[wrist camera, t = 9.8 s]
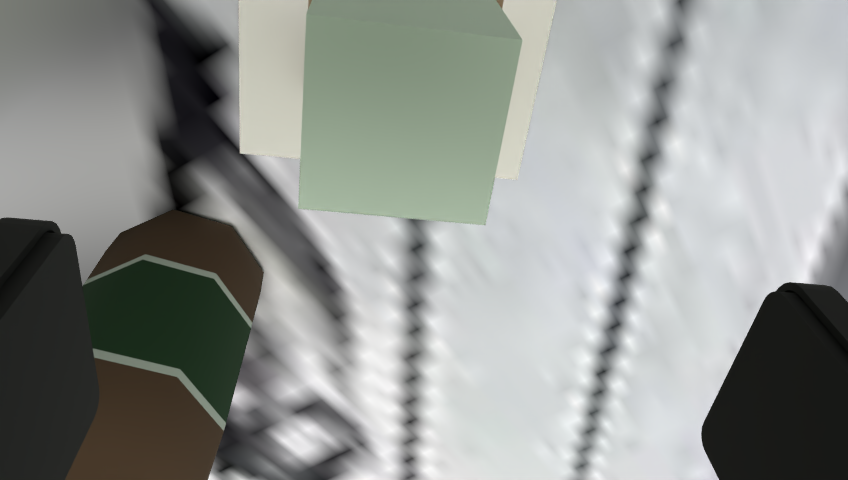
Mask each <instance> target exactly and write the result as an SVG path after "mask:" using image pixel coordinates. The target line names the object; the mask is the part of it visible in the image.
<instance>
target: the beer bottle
mask: <svg viewBox="0 0 848 480" xmlns="http://www.w3.org/2000/svg"><path fill="white" fill-rule="evenodd" d="M263 273H264V272H263V271H262V269H261V268H260V266H259V265H258V263H257V262H256V261H255V259H254V258H253V256H252V255H251V253H250V252H249V250H248V249H247V248H246V246H245V245H244V243H243V242H242V240H241V239H240V237H239V236H238V235H237V233H236V232H235V230H234V229H233V227H232V226H229V225H226V224H222V223H219V222H215V221H212V220H208V219H205V218H202V217H198V216H195V215H191V214H188V213H184V212H181V211H177V210H171V211H169V212H166V213H164V214H162V215H160V216H157V217H155V218H153V219H151V220H148V221H146V222H144V223H142V224H139V225H137V226H135V227H133V228H130V229H128V230H126V231H124V232H121V233H120V234H119V235H118V237H117V238H116V239H115V240H114V242H113V243H112V244H111V245H110V246H109V248H108V249H107V250H106V252H105V253H104V255H103V256H102V258H101V259H100V261H99V262H98V264H97V265H96V267H95V268H94V270H93V271H92V273H91V274H90V276H89V277H88V279H87V280H86V282H85V283H84V285H83V286H82V287H83V293H84V299H85V305H86V311H87V317H88V323H89V329H90V335H91V341H92V347H93V354H94V360H95V366H96V372H97V378H98V384H99V392H100V393H99V404H98V408H97V412H96V415H95V417H94V420H93V422H92V424H91V426H90V428H89V430H88V432H87V434H86V437H85V439H84V441H83V443H82V445H81V447H80V449H79V451H78V453H77V455H76V458H75V460H74V462H73V464H72V466H71V468H70V470H69V472H68V474H67V476H66V479H65V480H208V477H209V474H210V471H211V468H212V465H213V462H214V459H215V456H216V453H217V450H218V447H219V444H220V441H221V438H222V435H223V432H224V428H225V424H226V421H227V417H228V413H229V409H230V406H231V402H232V398H233V394H234V390H235V387H236V383H237V379H238V375H239V372H240V368H241V364H242V360H243V356H244V353H245V349H246V345H247V341H248V338H249V334H250V330H251V326H252V322H253V319H254V315H255V311H256V307H257V304H258V300H259V296H260V292H261V286H262V279H263Z"/></svg>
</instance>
